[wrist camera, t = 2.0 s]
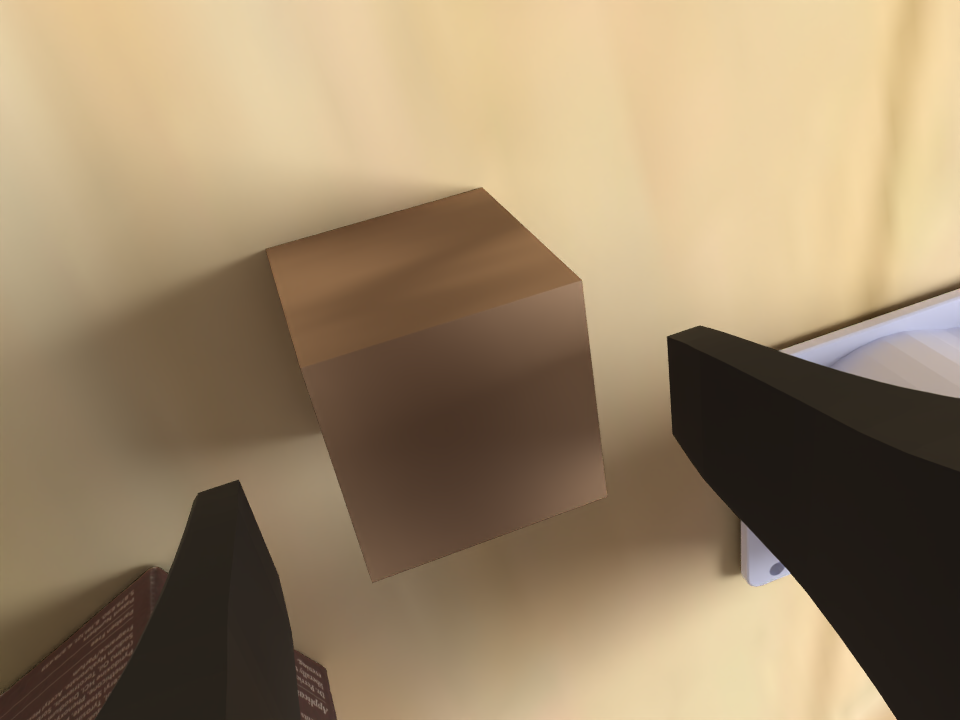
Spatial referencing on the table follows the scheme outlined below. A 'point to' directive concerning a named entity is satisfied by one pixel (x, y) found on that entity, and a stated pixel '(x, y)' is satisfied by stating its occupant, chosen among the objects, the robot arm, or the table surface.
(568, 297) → the walnut block
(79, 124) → the table surface
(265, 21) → the table surface
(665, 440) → the table surface
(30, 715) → the box
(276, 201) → the table surface
